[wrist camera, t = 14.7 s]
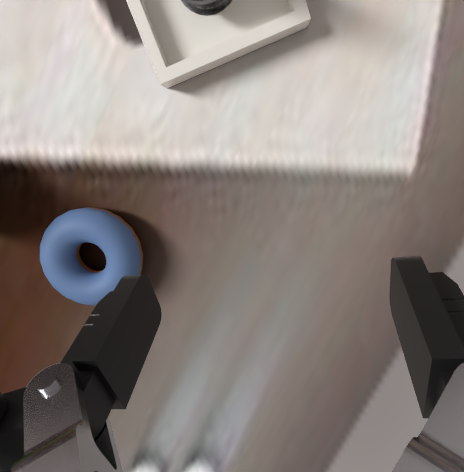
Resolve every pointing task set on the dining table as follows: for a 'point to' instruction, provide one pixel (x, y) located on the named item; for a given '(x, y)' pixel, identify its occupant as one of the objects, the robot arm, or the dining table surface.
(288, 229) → the dining table surface
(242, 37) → the ceramic dish
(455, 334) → the robot arm
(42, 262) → the doughnut
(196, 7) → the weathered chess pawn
